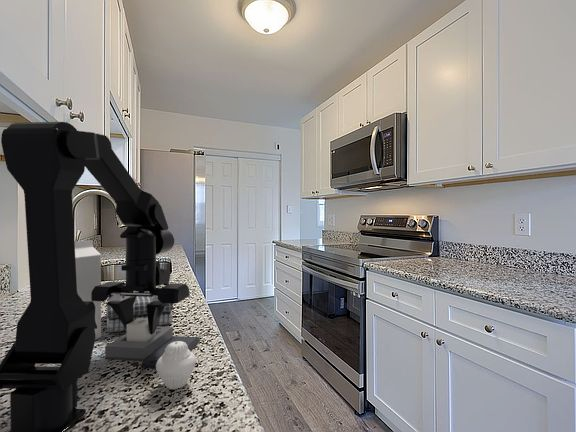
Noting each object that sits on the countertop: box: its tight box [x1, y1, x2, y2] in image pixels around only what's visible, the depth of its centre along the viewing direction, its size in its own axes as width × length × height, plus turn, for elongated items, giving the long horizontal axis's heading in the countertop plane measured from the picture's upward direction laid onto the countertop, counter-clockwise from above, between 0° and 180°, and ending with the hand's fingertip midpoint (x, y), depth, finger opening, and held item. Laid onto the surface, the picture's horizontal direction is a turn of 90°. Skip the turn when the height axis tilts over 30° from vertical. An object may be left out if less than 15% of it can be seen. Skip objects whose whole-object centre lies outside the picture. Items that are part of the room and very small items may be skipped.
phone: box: [140, 335, 201, 370], centre depth 61 cm, size 12×6×1 cm, turn 173°
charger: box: [126, 318, 156, 342], centre depth 63 cm, size 4×4×5 cm
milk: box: [74, 239, 102, 340], centre depth 67 cm, size 6×6×22 cm
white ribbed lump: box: [155, 341, 197, 390], centre depth 50 cm, size 6×6×7 cm
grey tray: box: [104, 325, 174, 362], centre depth 63 cm, size 11×8×2 cm
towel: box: [105, 291, 174, 333], centre depth 81 cm, size 15×18×8 cm
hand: (141, 333), depth 63 cm, fingers open, 5 cm apart
